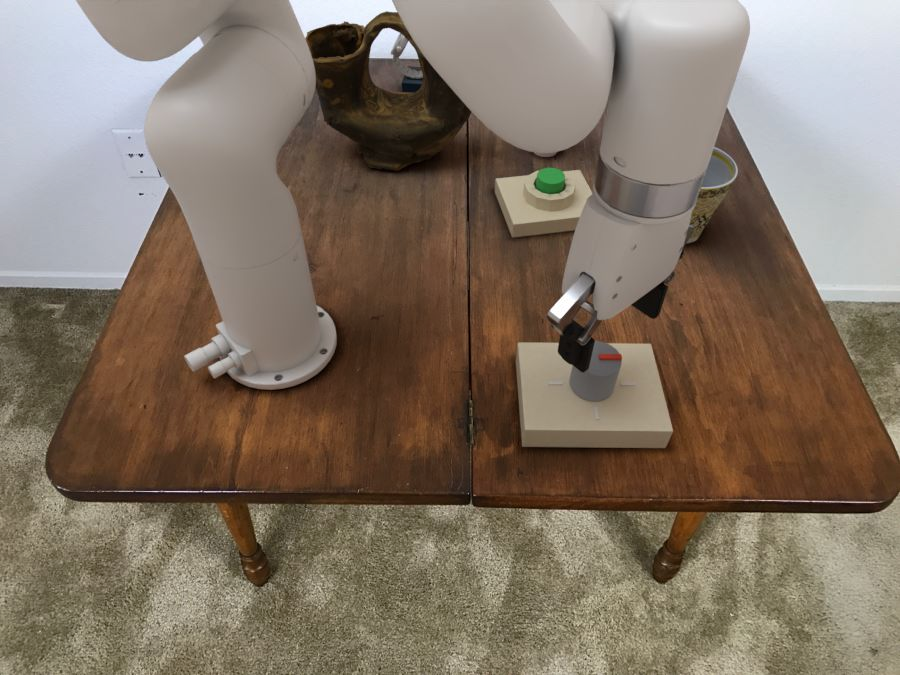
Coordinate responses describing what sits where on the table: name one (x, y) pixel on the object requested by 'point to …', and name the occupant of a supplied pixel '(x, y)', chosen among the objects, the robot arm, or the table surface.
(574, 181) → the block
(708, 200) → the ceramic cup
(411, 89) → the watch
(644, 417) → the control panel
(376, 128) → the pottery vessel
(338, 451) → the table surface
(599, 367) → the program dial
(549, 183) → the button
